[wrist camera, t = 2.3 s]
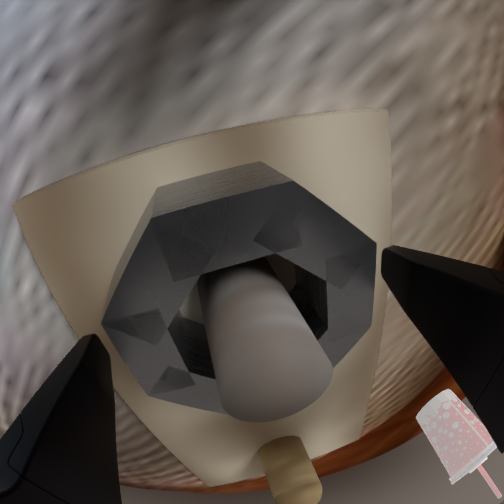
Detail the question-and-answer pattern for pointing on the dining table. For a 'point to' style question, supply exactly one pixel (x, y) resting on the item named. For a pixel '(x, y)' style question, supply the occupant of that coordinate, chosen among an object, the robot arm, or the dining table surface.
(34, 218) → the base board
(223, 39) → the dining table surface
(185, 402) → the steel ring
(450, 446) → the beverage cup
